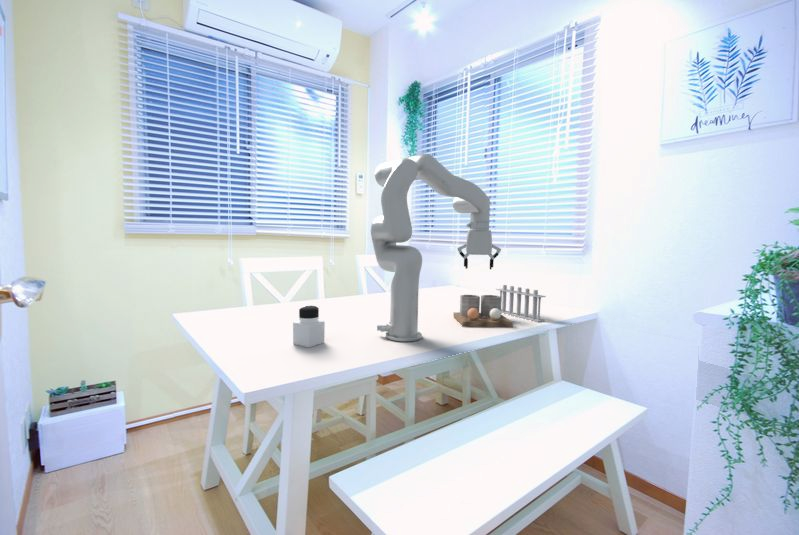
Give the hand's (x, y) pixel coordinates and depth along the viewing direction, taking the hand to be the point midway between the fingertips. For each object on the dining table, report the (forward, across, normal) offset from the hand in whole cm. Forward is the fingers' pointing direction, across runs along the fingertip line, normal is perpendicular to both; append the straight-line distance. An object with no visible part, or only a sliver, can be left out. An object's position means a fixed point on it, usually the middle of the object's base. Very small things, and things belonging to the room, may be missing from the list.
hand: (478, 268), depth 153 cm
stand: (+22, +2, +1) cm, 22 cm away
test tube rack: (+23, +18, +18) cm, 34 cm away
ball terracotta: (+18, -2, -5) cm, 18 cm away
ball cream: (+18, +7, -3) cm, 19 cm away
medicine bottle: (+22, -52, -48) cm, 74 cm away
